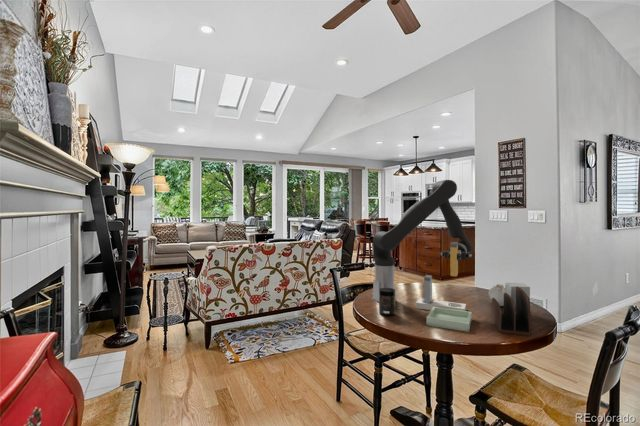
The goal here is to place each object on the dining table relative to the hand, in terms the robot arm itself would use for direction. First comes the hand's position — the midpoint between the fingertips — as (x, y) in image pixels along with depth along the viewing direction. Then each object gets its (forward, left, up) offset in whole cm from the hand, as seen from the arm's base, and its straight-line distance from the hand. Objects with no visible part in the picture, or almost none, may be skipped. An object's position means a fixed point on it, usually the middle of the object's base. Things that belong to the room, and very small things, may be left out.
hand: (453, 257), depth 143 cm
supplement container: (-28, +7, -24) cm, 38 cm away
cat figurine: (+29, +4, -24) cm, 38 cm away
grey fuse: (-6, +10, -24) cm, 26 cm away
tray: (-9, -9, -24) cm, 27 cm away
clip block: (-2, +6, -24) cm, 25 cm away
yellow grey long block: (+2, +2, -8) cm, 9 cm away
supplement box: (+24, -10, -24) cm, 36 cm away
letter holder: (+11, -18, -24) cm, 32 cm away
